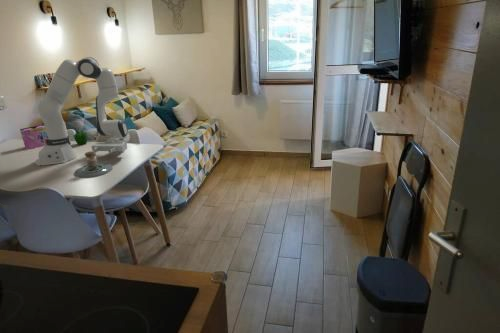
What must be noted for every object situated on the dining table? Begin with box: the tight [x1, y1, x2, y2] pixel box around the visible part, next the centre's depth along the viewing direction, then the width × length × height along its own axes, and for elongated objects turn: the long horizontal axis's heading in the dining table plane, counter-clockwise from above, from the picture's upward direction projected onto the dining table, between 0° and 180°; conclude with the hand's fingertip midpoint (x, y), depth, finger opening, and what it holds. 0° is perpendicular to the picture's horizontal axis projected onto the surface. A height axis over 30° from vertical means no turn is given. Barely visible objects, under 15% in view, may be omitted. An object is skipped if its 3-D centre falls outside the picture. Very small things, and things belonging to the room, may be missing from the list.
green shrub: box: [73, 129, 88, 146], centre depth 248 cm, size 8×8×10 cm
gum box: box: [19, 123, 48, 150], centre depth 249 cm, size 24×8×14 cm, turn 137°
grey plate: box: [74, 162, 113, 179], centre depth 200 cm, size 20×20×2 cm
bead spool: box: [84, 150, 99, 171], centre depth 198 cm, size 6×6×10 cm
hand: (102, 151), depth 208 cm, fingers open, 8 cm apart
